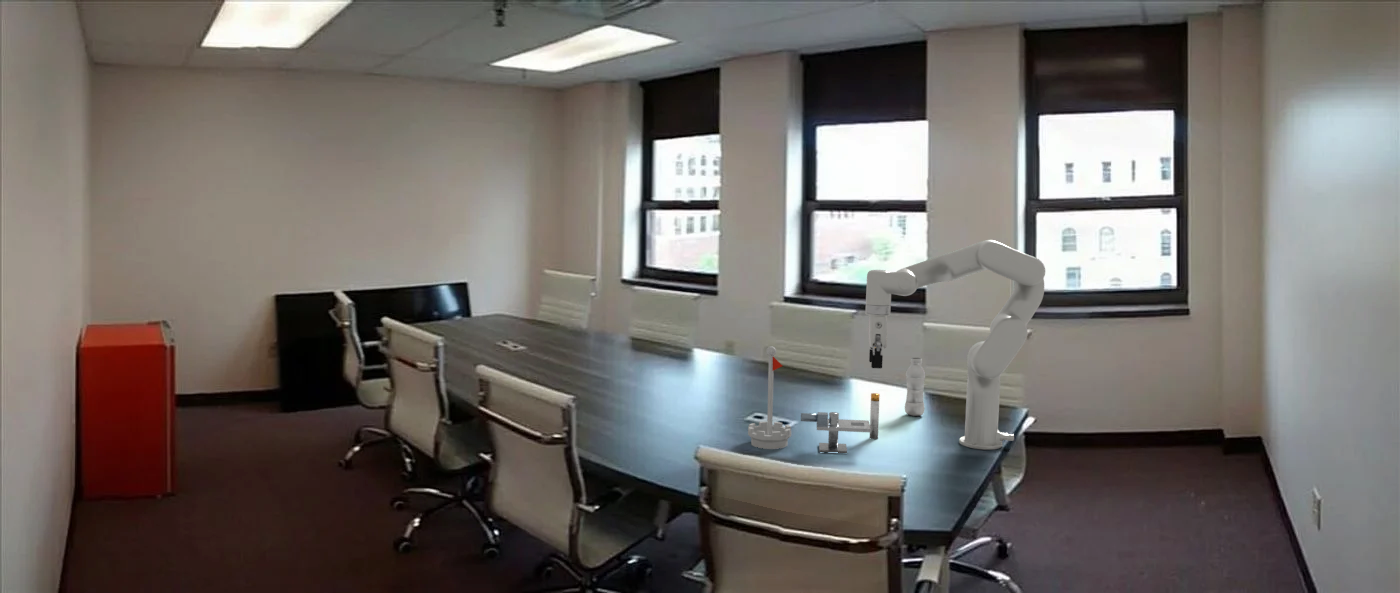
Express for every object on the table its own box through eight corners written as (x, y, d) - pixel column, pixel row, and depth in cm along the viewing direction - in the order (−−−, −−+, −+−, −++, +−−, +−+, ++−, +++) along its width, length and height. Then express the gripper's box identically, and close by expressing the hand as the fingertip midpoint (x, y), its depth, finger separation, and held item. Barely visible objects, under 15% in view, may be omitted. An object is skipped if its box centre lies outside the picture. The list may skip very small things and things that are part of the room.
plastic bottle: (926, 417, 304) (928, 360, 302) (906, 417, 305) (908, 359, 302) (921, 413, 311) (924, 356, 309) (902, 413, 311) (904, 356, 309)
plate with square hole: (867, 446, 268) (868, 410, 267) (869, 456, 259) (871, 418, 257) (800, 443, 271) (801, 408, 270) (799, 452, 261) (800, 416, 260)
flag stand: (739, 442, 271) (740, 345, 268) (771, 436, 279) (773, 341, 276) (767, 452, 261) (769, 351, 258) (799, 445, 269) (802, 347, 265)
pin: (877, 437, 279) (879, 393, 278) (878, 439, 277) (879, 395, 275) (869, 436, 280) (870, 392, 278) (869, 439, 277) (871, 394, 275)
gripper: (892, 314, 265) (890, 371, 267) (887, 307, 282) (885, 360, 284) (867, 313, 265) (864, 369, 267) (863, 306, 283) (861, 359, 285)
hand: (875, 365), depth 276 cm, fingers open, 9 cm apart
